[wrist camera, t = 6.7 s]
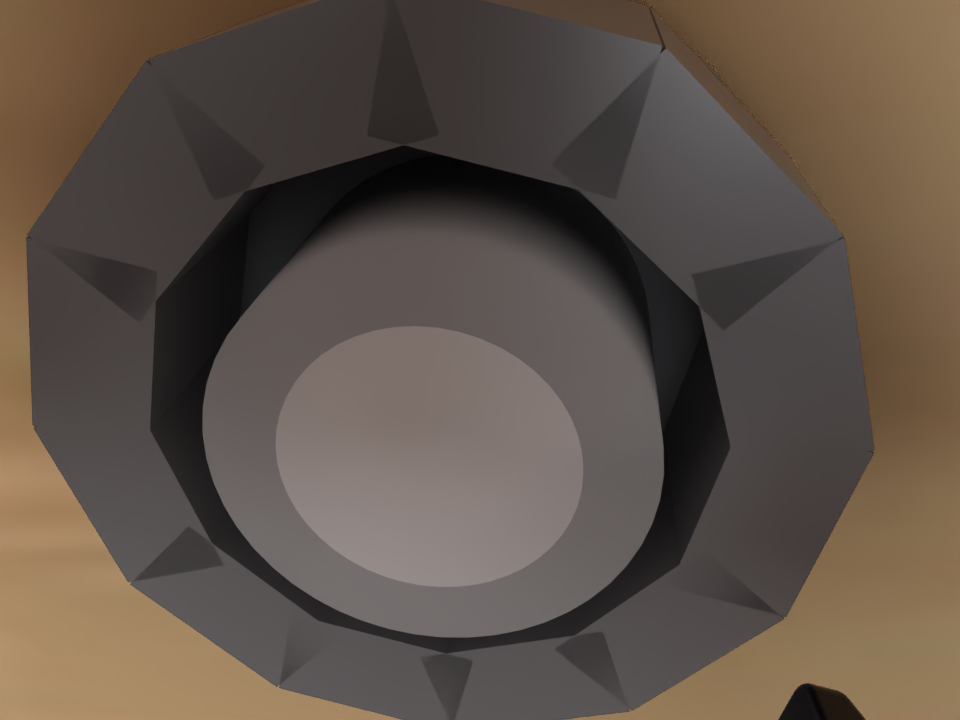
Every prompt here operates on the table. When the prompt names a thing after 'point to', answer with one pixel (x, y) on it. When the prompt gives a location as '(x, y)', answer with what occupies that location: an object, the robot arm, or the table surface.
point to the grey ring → (505, 146)
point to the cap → (444, 404)
